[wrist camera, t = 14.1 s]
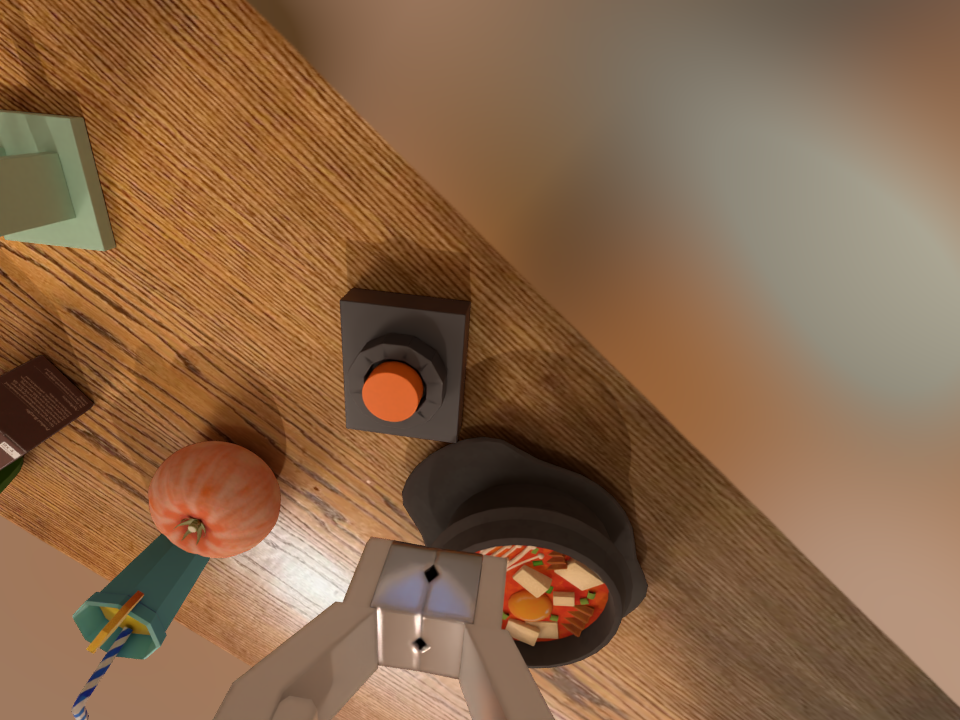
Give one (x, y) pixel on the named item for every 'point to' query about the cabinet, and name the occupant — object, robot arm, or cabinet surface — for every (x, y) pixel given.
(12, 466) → the bell pepper
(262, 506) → the tomato
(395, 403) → the button
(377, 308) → the button housing
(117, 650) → the cup
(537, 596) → the casserole
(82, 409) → the box
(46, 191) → the lever stand
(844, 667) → the cabinet surface
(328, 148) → the cabinet surface
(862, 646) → the cabinet surface
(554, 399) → the cabinet surface
